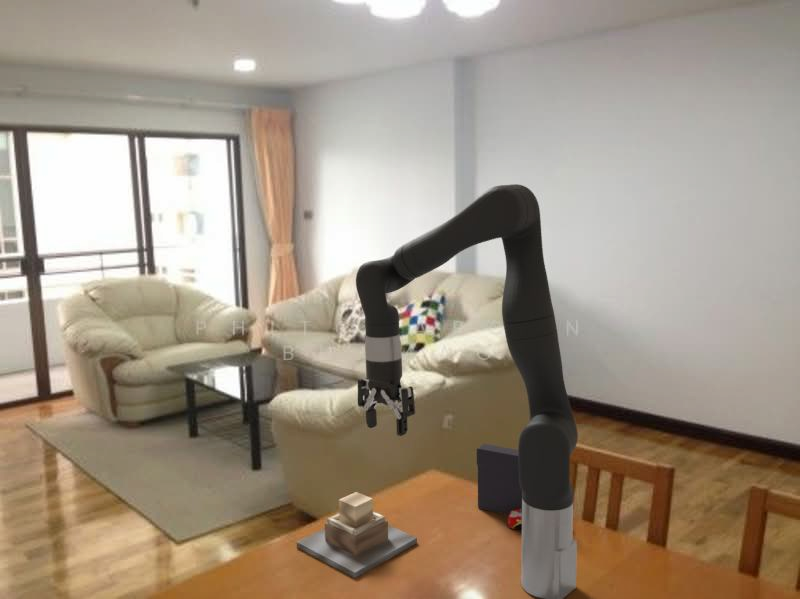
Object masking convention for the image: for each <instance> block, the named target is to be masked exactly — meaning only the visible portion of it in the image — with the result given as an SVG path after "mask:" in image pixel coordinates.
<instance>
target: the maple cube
mask: <svg viewBox="0 0 800 599" xmlns="http://www.w3.org/2000/svg"><path fill="white" fill-rule="evenodd" d="M373 502H374V500H373V498H372V497H370V496H367V495H365V494H363V493H360V492H358V491H355V492H353V493H351V494H348V495H346V496H344V497H341V498H340V499H338V513H339V518H340V522H342V523H344V524H346V525H348V526H350V527H352V528H355V529H356V528H358V527H360V526H362V525H364V524H366V523H368V522H370V521H372V520H373V512H374V503H373Z"/></svg>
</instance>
